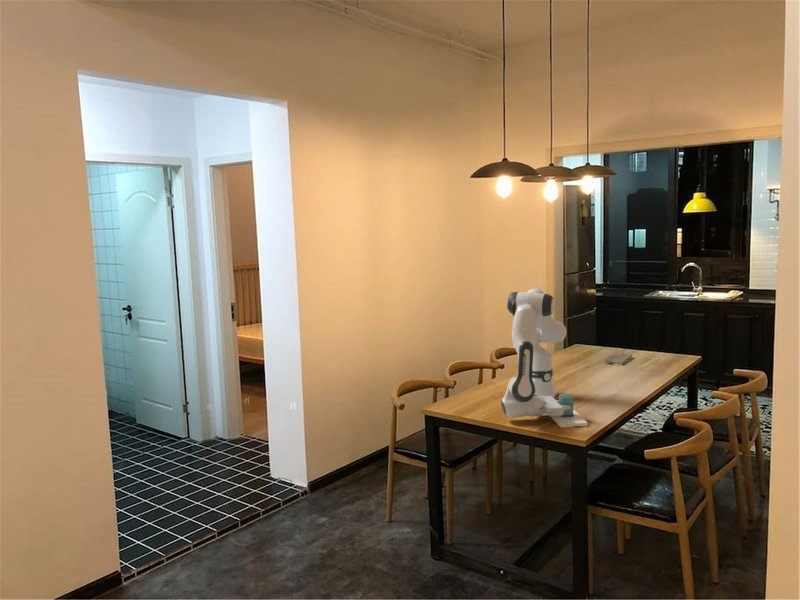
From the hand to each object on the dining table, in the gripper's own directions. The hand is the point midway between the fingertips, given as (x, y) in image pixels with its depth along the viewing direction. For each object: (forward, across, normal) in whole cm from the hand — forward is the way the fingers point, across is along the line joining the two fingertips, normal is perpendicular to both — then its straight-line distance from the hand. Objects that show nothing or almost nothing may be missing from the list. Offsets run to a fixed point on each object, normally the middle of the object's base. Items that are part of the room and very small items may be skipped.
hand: (568, 404), depth 288 cm
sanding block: (-1, 0, +5) cm, 5 cm away
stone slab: (+66, +116, +7) cm, 134 cm away
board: (-1, 0, +6) cm, 6 cm away
